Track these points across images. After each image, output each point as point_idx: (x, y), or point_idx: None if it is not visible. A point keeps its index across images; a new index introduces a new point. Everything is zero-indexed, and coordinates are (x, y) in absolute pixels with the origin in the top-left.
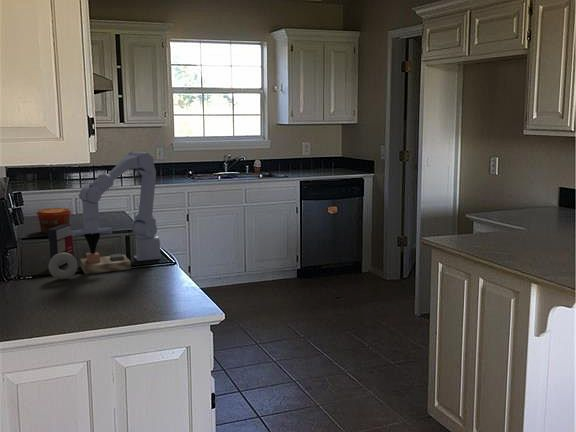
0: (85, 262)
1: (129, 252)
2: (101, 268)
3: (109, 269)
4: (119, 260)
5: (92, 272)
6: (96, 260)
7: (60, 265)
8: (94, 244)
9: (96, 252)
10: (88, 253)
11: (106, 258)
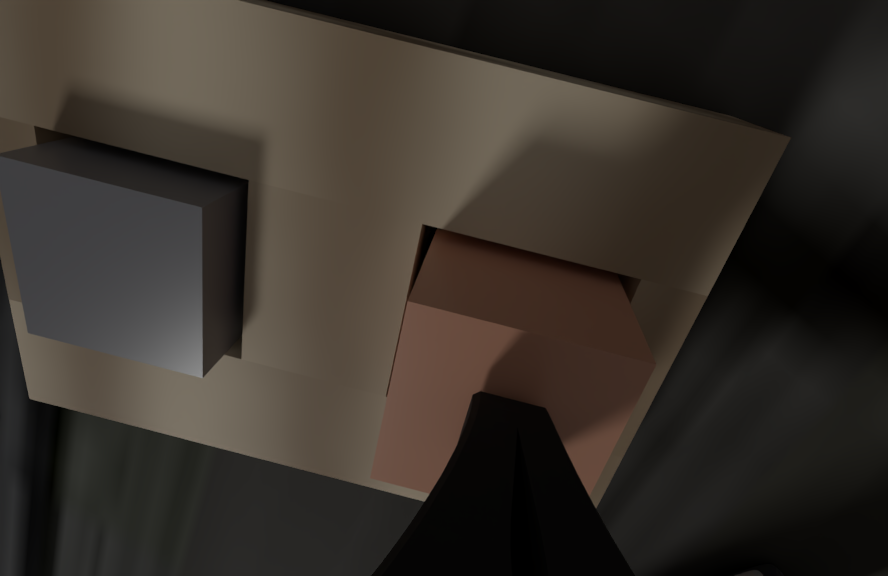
0: None
1: (28, 566)
2: (487, 59)
3: (366, 27)
4: (123, 136)
5: (626, 90)
6: (487, 267)
7: (742, 573)
8: (481, 555)
9: (401, 466)
10: None
11: (281, 367)
